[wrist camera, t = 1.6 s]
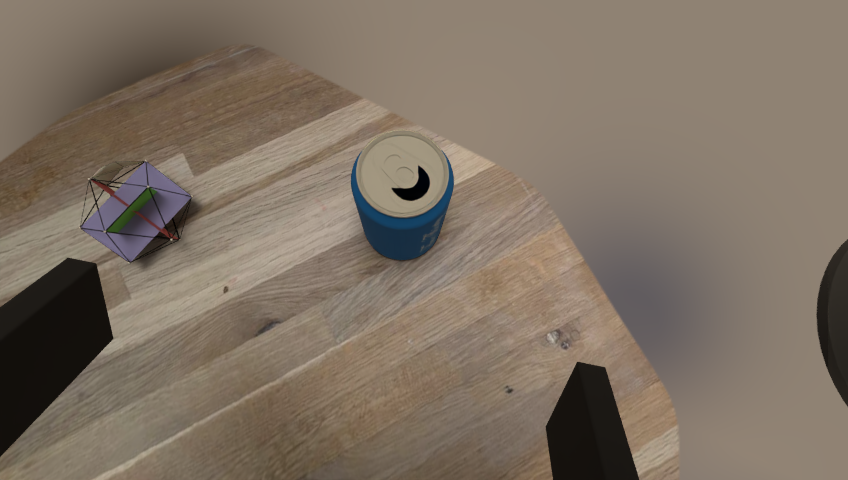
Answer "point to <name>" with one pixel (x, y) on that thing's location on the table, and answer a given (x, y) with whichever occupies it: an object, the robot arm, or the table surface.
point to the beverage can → (402, 192)
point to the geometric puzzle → (134, 209)
